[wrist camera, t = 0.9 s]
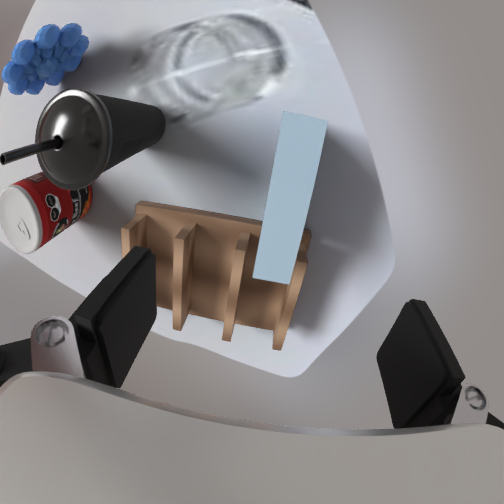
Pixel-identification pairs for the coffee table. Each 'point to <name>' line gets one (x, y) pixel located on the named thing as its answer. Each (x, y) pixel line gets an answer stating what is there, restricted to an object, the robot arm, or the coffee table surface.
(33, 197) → the canned food
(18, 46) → the grapes
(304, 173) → the light blue square slab
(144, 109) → the drinking cup
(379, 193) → the coffee table surface
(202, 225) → the dish rack
